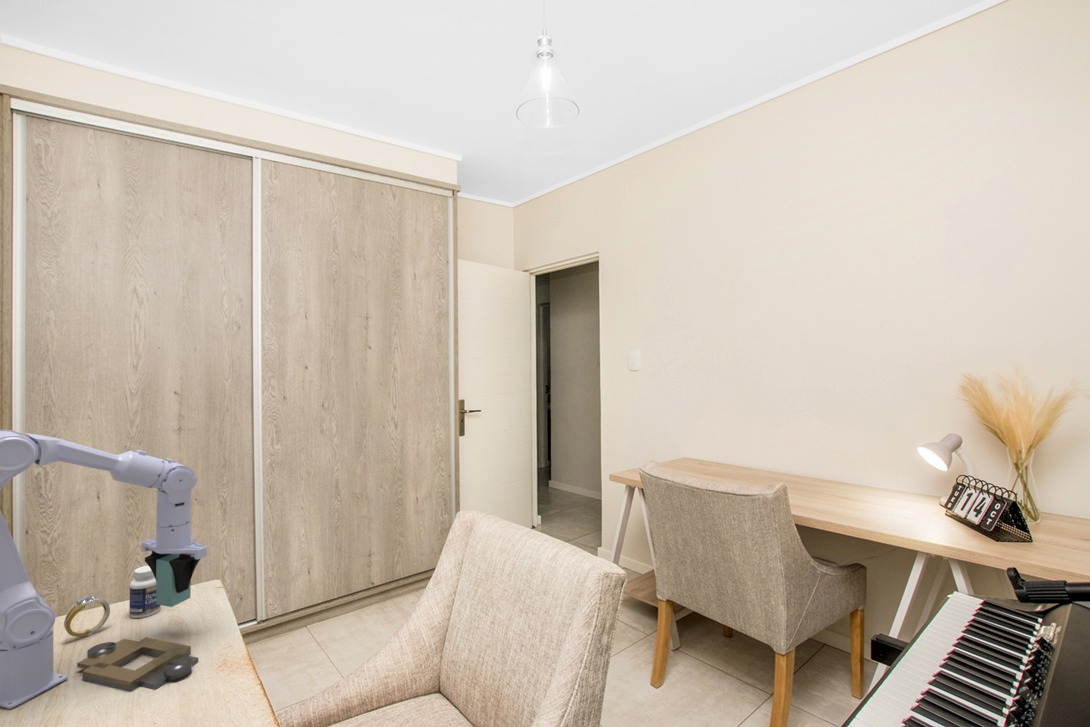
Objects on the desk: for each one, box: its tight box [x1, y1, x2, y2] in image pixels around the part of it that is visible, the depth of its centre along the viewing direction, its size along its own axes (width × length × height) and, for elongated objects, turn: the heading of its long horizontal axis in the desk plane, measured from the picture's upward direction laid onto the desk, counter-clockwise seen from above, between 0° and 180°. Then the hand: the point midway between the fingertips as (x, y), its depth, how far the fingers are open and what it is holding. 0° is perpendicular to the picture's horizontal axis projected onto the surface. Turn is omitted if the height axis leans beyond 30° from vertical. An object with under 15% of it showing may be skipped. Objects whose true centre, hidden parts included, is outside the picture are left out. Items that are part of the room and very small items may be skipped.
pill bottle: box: [128, 565, 162, 619], centre depth 111 cm, size 5×5×10 cm
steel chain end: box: [81, 649, 199, 692], centre depth 91 cm, size 16×11×2 cm, turn 76°
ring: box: [63, 594, 111, 638], centre depth 102 cm, size 7×3×8 cm, turn 146°
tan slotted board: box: [76, 637, 192, 687], centre depth 93 cm, size 16×11×2 cm, turn 76°
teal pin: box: [156, 554, 192, 608], centre depth 102 cm, size 4×4×9 cm
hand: (173, 589), depth 102 cm, fingers closed on teal pin, 4 cm apart
